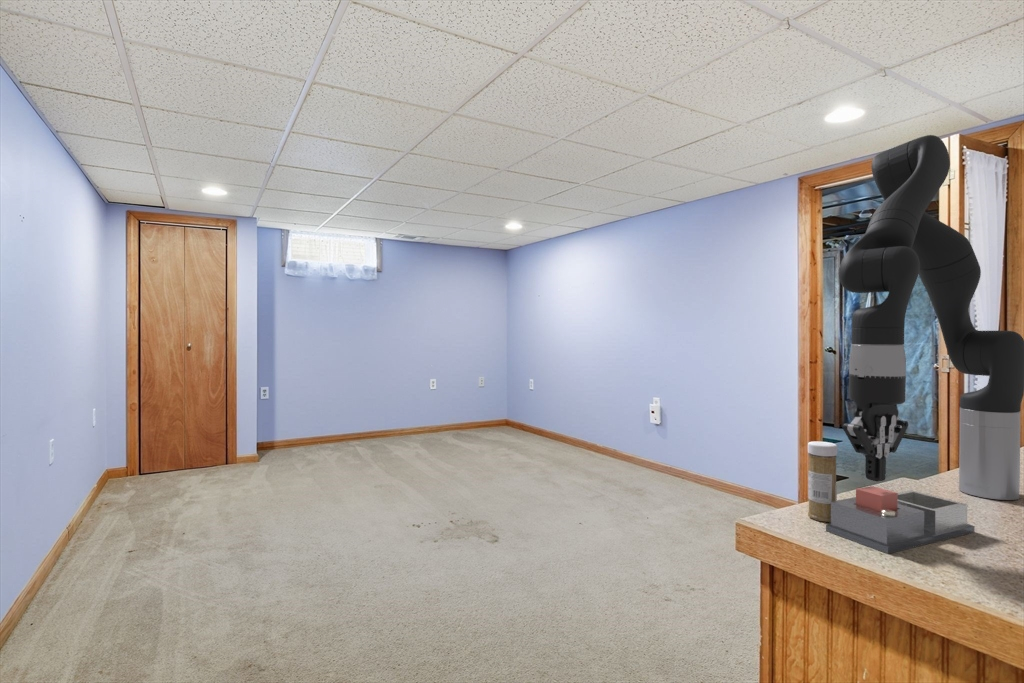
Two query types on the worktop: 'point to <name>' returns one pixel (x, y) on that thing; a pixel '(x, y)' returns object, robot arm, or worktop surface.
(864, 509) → the grey push button box
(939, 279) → the robot arm
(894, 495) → the button
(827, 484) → the sprinkles bottle
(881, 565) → the worktop surface
